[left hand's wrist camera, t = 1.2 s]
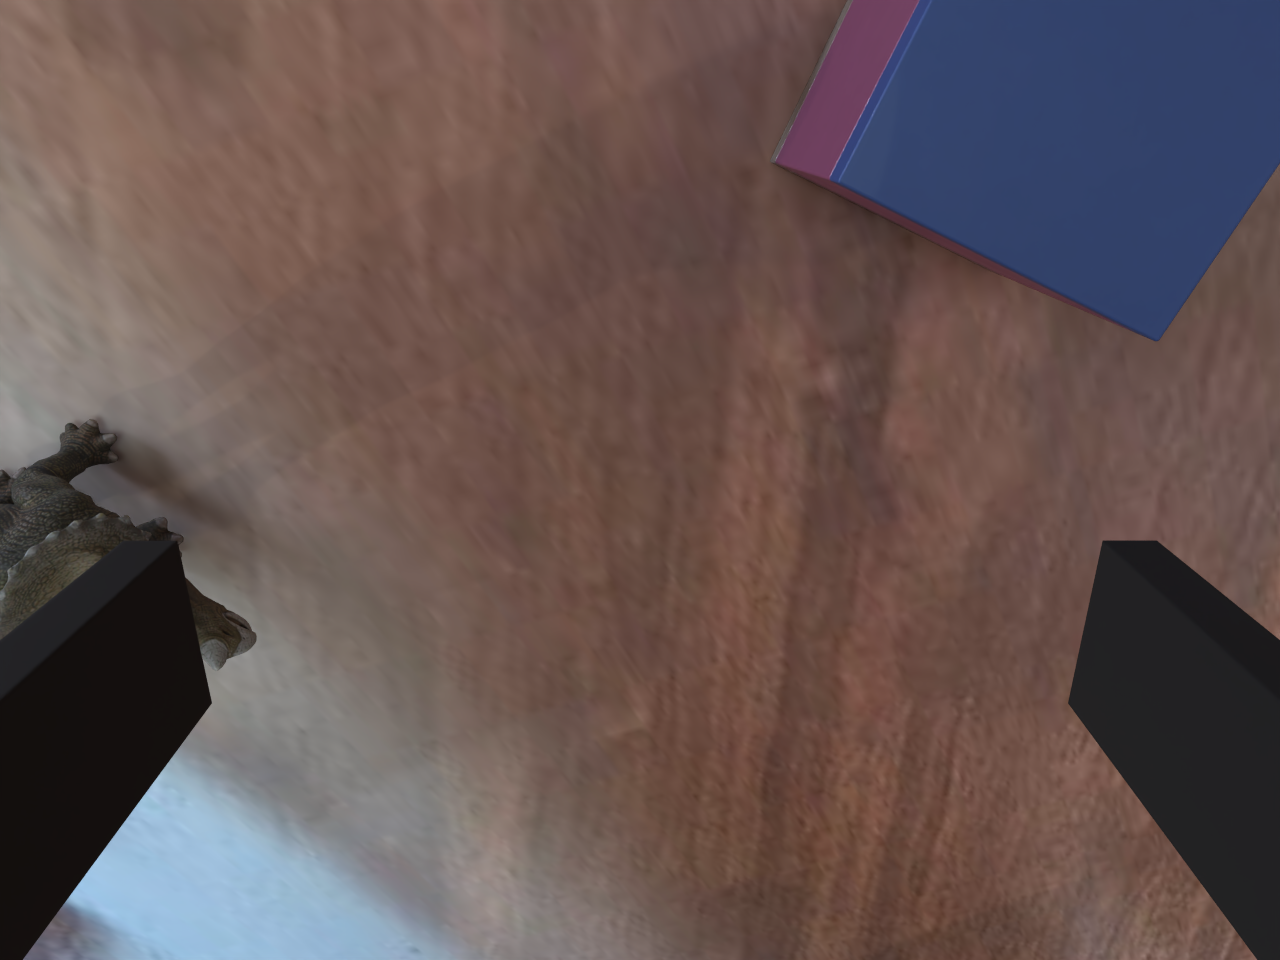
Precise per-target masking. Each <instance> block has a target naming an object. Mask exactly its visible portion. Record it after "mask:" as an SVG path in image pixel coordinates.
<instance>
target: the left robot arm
mask: <svg viewBox="0 0 1280 960" xmlns="http://www.w3.org/2000/svg"><path fill="white" fill-rule="evenodd" d="M211 704H212V701H211V697H210V692H209V687H208V683H207V678H206V673H205V669H204V664H203V659H202V654H201V650H200V645H199V640H198V636H197V631H196V626H195V622H194V617H193V612H192V607H191V603H190V598H189V593H188V589H187V584H186V579H185V575H184V570H183V565H182V561H181V556H180V551H179V546H178V542H177V541H122V542H121V543H120V544H119V545H117V546H116V547H115V548H114V549H112V550H111V551H110V552H109V553H107V554H106V555H105V556H104V557H102V558H101V559H100V560H99V561H98V562H96V563H95V564H94V565H93V566H91V567H90V568H89V569H88V570H86V571H85V572H84V573H83V574H81V575H80V576H79V577H78V578H76V579H75V580H74V581H73V582H72V583H70V584H69V585H68V586H67V587H65V588H64V589H63V590H62V591H60V592H59V593H58V594H57V595H55V596H54V597H53V598H52V599H51V600H49V601H48V602H47V603H46V604H44V605H43V606H42V607H41V608H39V609H38V610H37V611H36V612H34V613H33V614H32V615H31V616H30V617H28V618H27V619H26V620H25V621H23V622H22V623H21V624H20V625H18V626H17V627H16V628H15V629H13V630H12V631H11V632H10V633H9V634H7V635H6V636H5V637H4V638H2V639H1V640H0V960H23V959H24V957H25V956H26V954H27V953H28V952H29V950H30V949H31V948H32V946H33V945H34V944H35V942H36V941H37V940H38V938H39V937H40V935H41V934H42V933H43V931H44V930H45V929H46V927H47V926H48V925H49V923H50V922H51V921H52V919H53V918H54V916H55V915H56V914H57V912H58V911H59V910H60V908H61V907H62V906H63V904H64V903H65V902H66V900H67V899H68V898H69V896H70V895H71V893H72V892H73V891H74V889H75V888H76V887H77V885H78V884H79V883H80V881H81V880H82V879H83V877H84V876H85V874H86V873H87V872H88V870H89V869H90V868H91V866H92V865H93V864H94V862H95V861H96V860H97V858H98V857H99V855H100V854H101V853H102V851H103V850H104V849H105V847H106V846H107V845H108V843H109V842H110V841H111V839H112V838H113V836H114V835H115V834H116V832H117V831H118V830H119V828H120V827H121V826H122V824H123V823H124V822H125V820H126V819H127V818H128V816H129V815H130V813H131V812H132V811H133V809H134V808H135V807H136V805H137V804H138V803H139V801H140V800H141V799H142V797H143V796H144V794H145V793H146V792H147V790H148V789H149V788H150V786H151V785H152V784H153V782H154V781H155V780H156V778H157V777H158V775H159V774H160V773H161V771H162V770H163V769H164V767H165V766H166V765H167V763H168V762H169V761H170V759H171V758H172V757H173V755H174V754H175V752H176V751H177V750H178V748H179V747H180V746H181V744H182V743H183V742H184V740H185V739H186V738H187V736H188V735H189V733H190V732H191V731H192V729H193V728H194V727H195V725H196V724H197V723H198V721H199V720H200V719H201V717H202V716H203V714H204V713H205V712H206V710H207V709H208V708H209V706H210V705H211ZM1068 704H1069V705H1070V706H1071V708H1072V709H1073V710H1074V712H1075V713H1076V714H1077V716H1078V717H1079V719H1080V720H1081V721H1082V723H1083V724H1084V725H1085V727H1086V728H1087V729H1088V731H1089V732H1090V733H1091V735H1092V736H1093V738H1094V739H1095V740H1096V742H1097V743H1098V744H1099V746H1100V747H1101V748H1102V750H1103V751H1104V752H1105V754H1106V755H1107V757H1108V758H1109V759H1110V761H1111V762H1112V763H1113V765H1114V766H1115V767H1116V769H1117V770H1118V771H1119V773H1120V774H1121V775H1122V777H1123V778H1124V780H1125V781H1126V782H1127V784H1128V785H1129V786H1130V788H1131V789H1132V790H1133V792H1134V793H1135V794H1136V796H1137V797H1138V799H1139V800H1140V801H1141V803H1142V804H1143V805H1144V807H1145V808H1146V809H1147V811H1148V812H1149V813H1150V815H1151V816H1152V818H1153V819H1154V820H1155V822H1156V823H1157V824H1158V826H1159V827H1160V828H1161V830H1162V831H1163V832H1164V834H1165V835H1166V837H1167V838H1168V839H1169V841H1170V842H1171V843H1172V845H1173V846H1174V847H1175V849H1176V850H1177V851H1178V853H1179V854H1180V855H1181V857H1182V858H1183V860H1184V861H1185V862H1186V864H1187V865H1188V866H1189V868H1190V869H1191V870H1192V872H1193V873H1194V874H1195V876H1196V877H1197V879H1198V880H1199V881H1200V883H1201V884H1202V885H1203V887H1204V888H1205V889H1206V891H1207V892H1208V893H1209V895H1210V896H1211V898H1212V899H1213V900H1214V902H1215V903H1216V904H1217V906H1218V907H1219V908H1220V910H1221V911H1222V912H1223V914H1224V915H1225V916H1226V918H1227V919H1228V921H1229V922H1230V923H1231V925H1232V926H1233V927H1234V929H1235V930H1236V931H1237V933H1238V934H1239V935H1240V937H1241V938H1242V940H1243V941H1244V942H1245V944H1246V945H1247V946H1248V948H1249V949H1250V950H1251V952H1252V953H1253V954H1254V956H1255V957H1256V959H1257V960H1280V640H1279V639H1278V638H1276V637H1275V636H1274V635H1273V634H1271V633H1270V632H1269V631H1268V630H1267V629H1265V628H1264V627H1263V626H1262V625H1260V624H1259V623H1258V622H1257V621H1255V620H1254V619H1253V618H1252V617H1250V616H1249V615H1248V614H1247V613H1246V612H1244V611H1243V610H1242V609H1241V608H1239V607H1238V606H1237V605H1236V604H1234V603H1233V602H1232V601H1231V600H1229V599H1228V598H1227V597H1226V596H1225V595H1223V594H1222V593H1221V592H1220V591H1218V590H1217V589H1216V588H1215V587H1213V586H1212V585H1211V584H1210V583H1208V582H1207V581H1206V580H1205V579H1204V578H1202V577H1201V576H1200V575H1199V574H1197V573H1196V572H1195V571H1194V570H1192V569H1191V568H1190V567H1189V566H1187V565H1186V564H1185V563H1184V562H1182V561H1181V560H1180V559H1179V558H1178V557H1176V556H1175V555H1174V554H1173V553H1171V552H1170V551H1169V550H1168V549H1166V548H1165V547H1164V546H1163V545H1161V544H1160V543H1159V542H1158V541H1103V542H1102V546H1101V551H1100V556H1099V561H1098V565H1097V570H1096V575H1095V579H1094V584H1093V589H1092V593H1091V598H1090V603H1089V607H1088V612H1087V617H1086V622H1085V626H1084V631H1083V636H1082V640H1081V645H1080V650H1079V654H1078V659H1077V664H1076V669H1075V673H1074V678H1073V683H1072V687H1071V692H1070V697H1069V701H1068Z"/></svg>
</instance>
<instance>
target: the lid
mask: <svg viewBox="0 0 1280 960" xmlns="http://www.w3.org/2000/svg"><path fill="white" fill-rule="evenodd" d="M1279 164H1280V0H919V2H918V4H917V6H916V8H915V10H914V12H913V14H912V16H911V18H910V20H909V22H908V24H907V26H906V28H905V30H904V32H903V34H902V36H901V38H900V40H899V42H898V44H897V46H896V48H895V50H894V52H893V54H892V56H891V58H890V60H889V62H888V64H887V66H886V67H885V69H884V71H883V73H882V75H881V77H880V79H879V81H878V83H877V85H876V87H875V89H874V91H873V93H872V95H871V97H870V99H869V101H868V103H867V105H866V107H865V109H864V111H863V113H862V115H861V117H860V119H859V121H858V123H857V125H856V127H855V129H854V131H853V133H852V135H851V136H850V138H849V140H848V142H847V144H846V146H845V148H844V150H843V152H842V154H841V156H840V158H839V160H838V162H837V164H836V166H835V168H834V170H833V172H832V174H831V176H830V181H832V182H834V183H836V184H838V185H840V186H842V187H844V188H846V189H848V190H850V191H852V192H854V193H856V194H858V195H860V196H862V197H864V198H866V199H868V200H870V201H872V202H874V203H876V204H878V205H880V206H882V207H884V208H886V209H888V210H890V211H892V212H894V213H896V214H898V215H900V216H902V217H904V218H906V219H908V220H910V221H912V222H914V223H916V224H918V225H920V226H922V227H924V228H926V229H928V230H930V231H932V232H934V233H936V234H938V235H940V236H942V237H944V238H946V239H948V240H950V241H952V242H954V243H956V244H958V245H960V246H962V247H964V248H966V249H968V250H970V251H972V252H974V253H976V254H978V255H980V256H982V257H984V258H986V259H988V260H990V261H992V262H994V263H996V264H998V265H1000V266H1002V267H1004V268H1006V269H1008V270H1010V271H1012V272H1015V273H1017V274H1019V275H1021V276H1023V277H1025V278H1027V279H1029V280H1031V281H1033V282H1035V283H1037V284H1039V285H1041V286H1043V287H1045V288H1047V289H1049V290H1051V291H1053V292H1055V293H1057V294H1059V295H1061V296H1063V297H1065V298H1067V299H1069V300H1071V301H1073V302H1075V303H1077V304H1079V305H1081V306H1083V307H1085V308H1087V309H1089V310H1091V311H1093V312H1095V313H1097V314H1099V315H1101V316H1103V317H1105V318H1107V319H1109V320H1111V321H1113V322H1115V323H1117V324H1119V325H1121V326H1123V327H1125V328H1127V329H1129V330H1131V331H1133V332H1135V333H1137V334H1140V335H1142V336H1144V337H1147V338H1149V339H1151V340H1154V341H1158V340H1160V338H1161V337H1162V335H1163V334H1164V332H1165V331H1166V329H1167V328H1168V326H1169V325H1170V323H1171V322H1172V321H1173V319H1174V318H1175V316H1176V315H1177V313H1178V312H1179V310H1180V309H1181V307H1182V306H1183V304H1184V303H1185V301H1186V300H1187V299H1188V297H1189V296H1190V294H1191V293H1192V291H1193V290H1194V288H1195V287H1196V285H1197V284H1198V282H1199V281H1200V279H1201V278H1202V277H1203V275H1204V274H1205V272H1206V271H1207V269H1208V268H1209V266H1210V265H1211V263H1212V262H1213V260H1214V259H1215V258H1216V256H1217V255H1218V253H1219V252H1220V250H1221V249H1222V247H1223V246H1224V244H1225V243H1226V241H1227V240H1228V238H1229V237H1230V236H1231V234H1232V233H1233V231H1234V230H1235V228H1236V227H1237V225H1238V224H1239V222H1240V221H1241V219H1242V218H1243V216H1244V215H1245V214H1246V212H1247V211H1248V209H1249V208H1250V206H1251V205H1252V203H1253V202H1254V200H1255V199H1256V197H1257V196H1258V194H1259V193H1260V192H1261V190H1262V189H1263V187H1264V186H1265V184H1266V183H1267V181H1268V180H1269V178H1270V177H1271V175H1272V174H1273V172H1274V171H1275V170H1276V168H1277V167H1278V165H1279Z"/></svg>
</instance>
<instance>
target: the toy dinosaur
mask: <svg viewBox="0 0 1280 960" xmlns="http://www.w3.org/2000/svg"><path fill="white" fill-rule="evenodd" d="M116 440H117V436H116V435H115V434H101V433H100V431H99V427H98V423H97V422H96V421H95V420H91V419H89V420H88V421H87V422H86V423H84V424H83V425H82V426H81V427H80V428H78V427H77V426H76V425H74V424H72V423H68V424H67V425H66V426H65V433H62V434H61V435H60V441H61V448H60V451H59V452H58V453H57V454H55V455H52V456H50V457H48V458H46V459H42V460H39V461H37V462H36V463H34V464H33V465H32V466H30V467H29V468H27V469H26V468H25V467H22V468H21V469H19V470H18V471H17V472H16V473H15V474H14V475H13V476H12V478H11V477H10V476H9V475H8V474H7V473H6V472H5V471H3V470H0V640H1V639H2V638H4V637H5V636H6V635H7V634H9V633H10V632H11V631H12V630H13V629H15V628H16V627H17V626H18V625H20V624H21V623H22V622H23V621H25V620H26V619H27V618H28V617H30V616H31V615H32V614H33V613H34V612H36V611H37V610H38V609H39V608H41V607H42V606H43V605H44V604H46V603H47V602H48V601H49V600H51V599H52V598H53V597H54V596H55V595H57V594H58V593H59V592H60V591H62V590H63V589H64V588H65V587H67V586H68V585H69V584H70V583H72V582H73V581H74V580H75V579H76V578H78V577H79V576H80V575H81V574H83V573H84V572H85V571H86V570H88V569H89V568H90V567H91V566H93V565H94V564H95V563H96V562H98V561H99V560H100V559H101V558H102V557H104V556H105V555H106V554H107V553H109V552H110V551H111V550H112V549H114V548H115V547H116V546H117V545H119V544H120V543H121V542H122V541H177V542H178V544H180V543H182V542H183V537H182V536H181V535H179V534H176V533H173V532H170V531H168V530H167V519H166V518H164V517H160V518H156V519H153V520H152V521H150V522H147V523H144V524H141V525H139V526H137V527H135V526H134V525H133V524H132V522H131V520H130V517H129V516H126V515H124V516H122V517H120V516H119V515H118V514H116V513H113V512H110V511H108V510H105V509H103V508H101V507H98V506H96V505H95V503H94V502H93V500H92V498H91V497H90V496H88V495H85V494H83V493H81V492H78V491H76V490H75V489H74V488H73V487H72V486H71V485H70V484H69V482H70V481H71V480H72V479H73V478H74V477H75V476H77V475H78V474H80V473H82V472H84V471H85V469H86V468H88V467H90V466H93V465H97V464H108V463H113V462H116V461H117V460H118V456H117V455H116V454H114V453H113V452H112V451H111V449H110V447H111V445H112V444H113V443H114V442H115V441H116ZM179 551H180V550H179ZM180 556H181V557H182V553H181V552H180ZM185 579H186V578H185ZM186 584H187V589H188V593H189V598H190V603H191V607H192V612H193V617H194V622H195V626H196V631H197V636H198V640H199V645H200V650H201V654H202V658H203V659H204V660H205V661H206V662H207V663H208V664H209V665H210V666H211V668H212V669H214V670H215V671H218V670H219V669H220V668H222V666H223V665H224V664H225V662H226V660H227V659H228V658H231V657H233V656H236V655H240V654H242V653H244V652H246V651H248V650H249V649H250V648H251V647H252V646H253V645H254V644H255V642H256V634H255V632H253V631H252V630H251V627H250V625H249V623H248V622H247V621H246V620H245V619H243V618H242V617H240V616H239V615H237V614H235V613H234V612H232V611H229V610H227V609H226V608H225V607H224V606H223V605H221V604H219V603H217V602H215V601H213V600H211V599H209V598H207V597H205V596H204V595H202V594H201V593H200V592H199V591H198V590H197V589H196V588H195V587H194V586H193V584H192V583H191V582H190V581H189V580H188V579H186Z"/></svg>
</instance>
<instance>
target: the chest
mask: <svg viewBox="0 0 1280 960" xmlns="http://www.w3.org/2000/svg"><path fill="white" fill-rule="evenodd" d="M918 2H919V0H847V2H846V4H845V6H844V8H843V10H842V12H841V14H840V16H839V18H838V21H837V23H836V25H835V27H834V29H833V31H832V33H831V35H830V37H829V39H828V41H827V43H826V46H825V48H824V50H823V52H822V54H821V56H820V58H819V60H818V62H817V64H816V66H815V68H814V70H813V73H812V75H811V77H810V79H809V81H808V83H807V85H806V87H805V89H804V91H803V93H802V95H801V98H800V100H799V102H798V104H797V106H796V108H795V110H794V112H793V114H792V116H791V118H790V120H789V122H788V125H787V127H786V129H785V131H784V133H783V135H782V137H781V139H780V141H779V143H778V145H777V147H776V150H775V152H774V154H773V156H772V158H771V160H770V162H772V163H774V164H776V165H778V166H780V167H782V168H784V169H786V170H788V171H790V172H792V173H794V174H796V175H798V176H800V177H802V178H804V179H806V180H808V181H810V182H812V183H814V184H816V185H818V186H820V187H822V188H824V189H826V190H828V191H830V192H832V193H834V194H836V195H838V196H840V197H842V198H844V199H846V200H848V201H850V202H852V203H854V204H856V205H858V206H860V207H862V208H864V209H867V210H869V211H871V212H873V213H875V214H877V215H879V216H881V217H883V218H885V219H887V220H889V221H891V222H893V223H895V224H897V225H899V226H901V227H903V228H905V229H907V230H909V231H911V232H913V233H915V234H917V235H919V236H921V237H923V238H925V239H927V240H929V241H931V242H933V243H935V244H937V245H939V246H941V247H943V248H945V249H947V250H949V251H951V252H953V253H955V254H957V255H959V256H961V257H963V258H965V259H967V260H969V261H971V262H973V263H975V264H978V265H980V266H982V267H984V268H986V269H988V270H990V271H992V272H994V273H997V274H999V275H1002V276H1004V277H1007V278H1009V279H1011V280H1014V281H1016V282H1018V283H1021V284H1023V285H1025V286H1028V287H1030V288H1032V289H1035V290H1037V291H1039V292H1042V293H1044V294H1046V295H1049V296H1051V297H1053V298H1056V299H1058V300H1060V301H1063V302H1065V303H1067V304H1070V305H1072V306H1074V307H1077V308H1079V309H1081V310H1084V311H1086V312H1088V313H1091V314H1093V315H1095V316H1098V317H1100V318H1102V319H1105V320H1107V321H1109V322H1112V323H1114V324H1116V325H1119V324H1117V323H1115V322H1113V321H1111V320H1109V319H1107V318H1105V317H1103V316H1101V315H1099V314H1097V313H1095V312H1093V311H1091V310H1089V309H1087V308H1085V307H1083V306H1081V305H1079V304H1077V303H1075V302H1073V301H1071V300H1069V299H1067V298H1065V297H1063V296H1061V295H1059V294H1057V293H1055V292H1053V291H1051V290H1049V289H1047V288H1045V287H1043V286H1041V285H1039V284H1037V283H1035V282H1033V281H1031V280H1029V279H1027V278H1025V277H1023V276H1021V275H1019V274H1017V273H1015V272H1012V271H1010V270H1008V269H1006V268H1004V267H1002V266H1000V265H998V264H996V263H994V262H992V261H990V260H988V259H986V258H984V257H982V256H980V255H978V254H976V253H974V252H972V251H970V250H968V249H966V248H964V247H962V246H960V245H958V244H956V243H954V242H952V241H950V240H948V239H946V238H944V237H942V236H940V235H938V234H936V233H934V232H932V231H930V230H928V229H926V228H924V227H922V226H920V225H918V224H916V223H914V222H912V221H910V220H908V219H906V218H904V217H902V216H900V215H898V214H896V213H894V212H892V211H890V210H888V209H886V208H884V207H882V206H880V205H878V204H876V203H874V202H872V201H870V200H868V199H866V198H864V197H862V196H860V195H858V194H856V193H854V192H852V191H850V190H848V189H846V188H844V187H842V186H840V185H838V184H836V183H834V182H832V181H830V176H831V174H832V172H833V170H834V168H835V166H836V164H837V162H838V160H839V158H840V156H841V154H842V152H843V150H844V148H845V146H846V144H847V142H848V140H849V138H850V136H851V135H852V133H853V131H854V129H855V127H856V125H857V123H858V121H859V119H860V117H861V115H862V113H863V111H864V109H865V107H866V105H867V103H868V101H869V99H870V97H871V95H872V93H873V91H874V89H875V87H876V85H877V83H878V81H879V79H880V77H881V75H882V73H883V71H884V69H885V67H886V66H887V64H888V62H889V60H890V58H891V56H892V54H893V52H894V50H895V48H896V46H897V44H898V42H899V40H900V38H901V36H902V34H903V32H904V30H905V28H906V26H907V24H908V22H909V20H910V18H911V16H912V14H913V12H914V10H915V8H916V6H917V4H918ZM1119 326H1121V325H1119ZM1121 327H1123V326H1121ZM1123 328H1125V327H1123ZM1126 329H1127V328H1126ZM1128 330H1129V329H1128ZM1130 331H1131V330H1130Z"/></svg>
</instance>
